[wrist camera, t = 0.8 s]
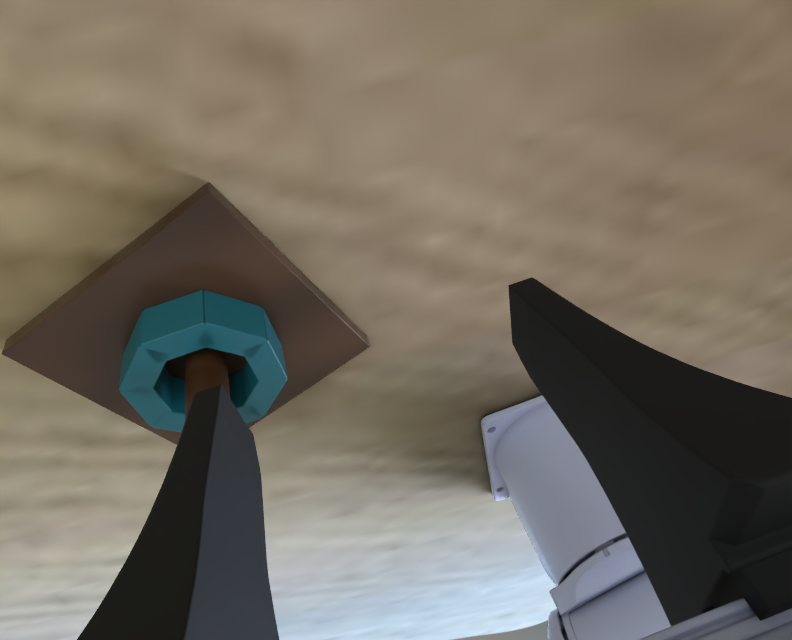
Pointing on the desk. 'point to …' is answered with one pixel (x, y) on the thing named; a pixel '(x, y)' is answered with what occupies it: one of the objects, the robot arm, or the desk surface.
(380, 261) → the desk surface
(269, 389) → the ring
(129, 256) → the ring toss
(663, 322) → the desk surface
